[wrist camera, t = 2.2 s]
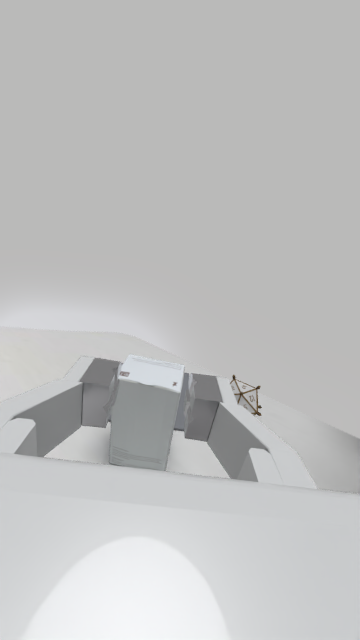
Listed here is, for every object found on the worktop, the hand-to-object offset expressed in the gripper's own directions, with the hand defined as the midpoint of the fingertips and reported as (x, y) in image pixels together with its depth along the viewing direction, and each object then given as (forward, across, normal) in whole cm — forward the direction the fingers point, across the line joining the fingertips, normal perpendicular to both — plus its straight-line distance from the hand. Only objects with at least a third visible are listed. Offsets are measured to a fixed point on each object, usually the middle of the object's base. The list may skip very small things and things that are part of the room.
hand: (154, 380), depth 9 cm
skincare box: (+16, 0, +25) cm, 30 cm away
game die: (+26, -17, +25) cm, 40 cm away
